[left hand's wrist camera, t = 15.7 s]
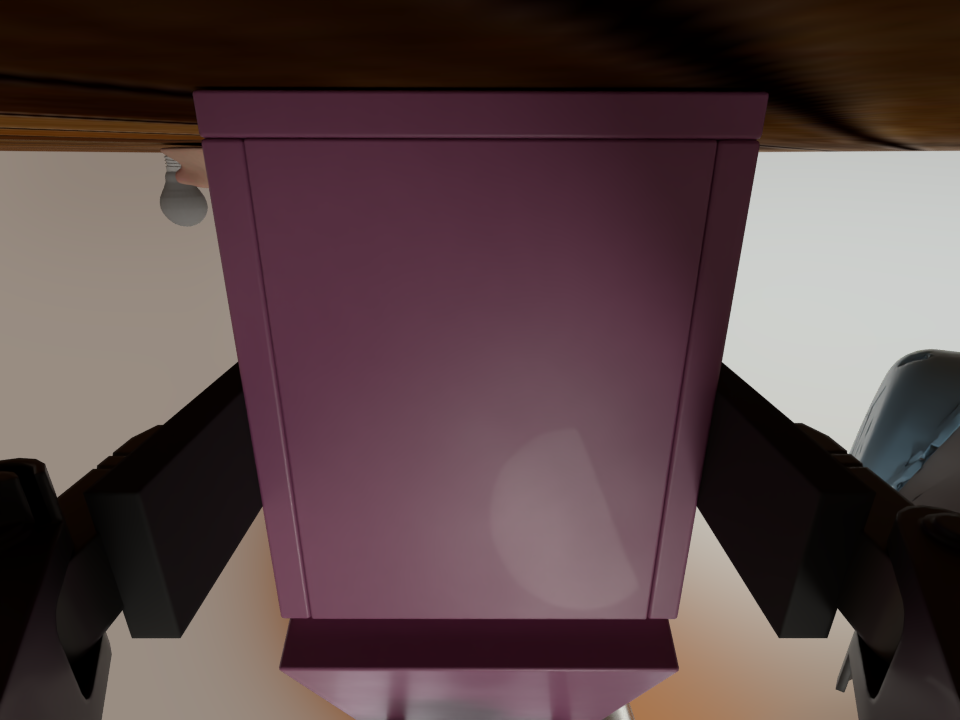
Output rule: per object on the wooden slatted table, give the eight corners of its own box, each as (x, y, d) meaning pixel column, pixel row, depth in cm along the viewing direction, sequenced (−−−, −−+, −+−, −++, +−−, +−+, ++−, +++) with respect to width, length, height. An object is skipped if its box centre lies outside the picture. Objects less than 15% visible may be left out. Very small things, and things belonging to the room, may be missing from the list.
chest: (596, 139, 21) (577, 394, 24) (363, 139, 21) (381, 393, 24) (771, 90, 8) (678, 620, 12) (189, 88, 8) (280, 619, 12)
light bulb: (186, 152, 70) (201, 228, 73) (204, 153, 75) (217, 223, 79) (140, 152, 69) (157, 228, 73) (161, 153, 75) (176, 224, 78)
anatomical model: (159, 207, 36) (329, 203, 40) (145, 146, 34) (323, 147, 38) (184, 196, 47) (314, 193, 51) (174, 149, 46) (309, 150, 50)
